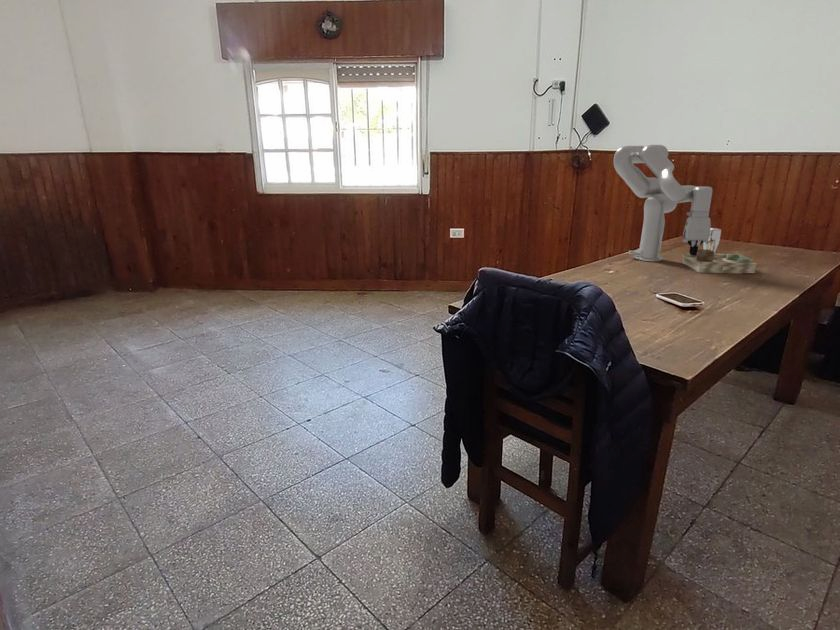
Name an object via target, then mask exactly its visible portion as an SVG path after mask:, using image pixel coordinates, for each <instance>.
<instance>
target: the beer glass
mask: <svg viewBox="0 0 840 630" xmlns="http://www.w3.org/2000/svg"><path fill="white" fill-rule="evenodd" d="M721 235H722V229H721V228H719V227H718V228H716V227H710V237H709V239H708V242H705V243H702V246H703V247H702V248H703V249H704V250H712V251H714V252H715V253H714V254H716V251H717V248H718V246H719V243H720V241H721Z"/></svg>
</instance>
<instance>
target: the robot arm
mask: <svg viewBox="0 0 840 630" xmlns="http://www.w3.org/2000/svg"><path fill="white" fill-rule="evenodd" d="M613 156H614V157H613V167H614V169H615V171H616V173H617V175H619V177H620V178H621V179H622V180H623V181H624V182H625V184H626V185H627V186H628V187H629V188H630V189H631V191H632V192H633V193H634V194H635V195H636V196H637V197H638V198H640V199H645V198H646V199H645V201H644V204H643V223H642V229H641V230H642V231H641V236H640V243H639V248H637V249H635V250H628V255H633V256H634V259H636V260H638V261H643V262H661V261H663V257H662V256H660V253H661V248H662V242H663V236H664V229H665V226H666V225H665V223H666V222H665V221H666V220H665V214H668V213H671V212H673V211H674V210H675V209H676V207H677V205H678V204H681V203H688V202H689V203H690V202H691V205H690V209H689V212H688V211H687V212H686V216H688V217H687V218H686V221H685V225H684V228H683V233H682V242H683V243H687V244H688V245H689V252H688V253H690V255H696V253H698V250H699V247H700V246H701V245H703V243H705V242H708V239H709V237H710V228H711V218H710V217H709V216H710V208H711V203H712V196H713V188H712V186H706V185H705V186H699V185H698V186H696V185H691V184H690V185H689V184H685V185H681V184H680V183H679V182H678V180H677V179H676V178H675V177H674V174H673V171H674V169H675V165H674V163H673V162H672V161H671V160H670V159H669V158H668V157H669V149H667V146H665V145H663V144H649V145H648V144H647V145H624V146H621V147H620V148H618V149H617V150H616V151H615V153H614V155H613ZM635 164H645V165H646V167H647V168H648V169H649V170H650V171H651V173H653V175H654V176H655V177H648V176H646V174H644V173H643V171H642V170H641V169H640V168H639V167H638V166H636V165H635Z"/></svg>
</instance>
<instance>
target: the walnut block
mask: <svg viewBox="0 0 840 630" xmlns="http://www.w3.org/2000/svg"><path fill="white" fill-rule="evenodd" d="M697 253H698V255H697V260H698V261H700V262H713V258H714V253H715V254H716V251H715V252H714V251H712V250H704V249H699V248H698V252H697Z"/></svg>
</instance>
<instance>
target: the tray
mask: <svg viewBox="0 0 840 630" xmlns="http://www.w3.org/2000/svg"><path fill="white" fill-rule="evenodd" d="M697 255H698V252H697V253H696V255H690V253H689V252H684V253H683V255H682V260H681V263H682V264H684V265H685V266H687V267H689V268H690V269H692V270H694V271H695V272H696V273H710V274H711V273H713V274H716V273H717V274H742V273H756V270H757V265H758V264H757V263H755V262H753V259H752V258H749V257H747V256H745V255H743V254H741V253H740V254H739V253H736V254H735V253H715V254H714V258H713V262H700V261H698V260H697Z"/></svg>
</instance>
